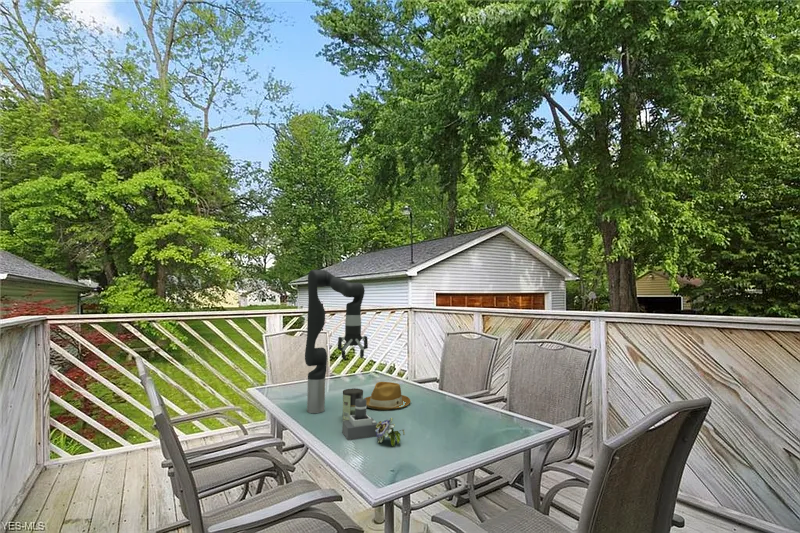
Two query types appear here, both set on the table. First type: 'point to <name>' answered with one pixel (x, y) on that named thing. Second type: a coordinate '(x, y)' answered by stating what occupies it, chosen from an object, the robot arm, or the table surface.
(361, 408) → the lens
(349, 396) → the coffee can
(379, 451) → the table surface
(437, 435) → the table surface
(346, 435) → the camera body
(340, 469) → the table surface
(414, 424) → the table surface
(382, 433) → the passion flower
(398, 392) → the fedora
